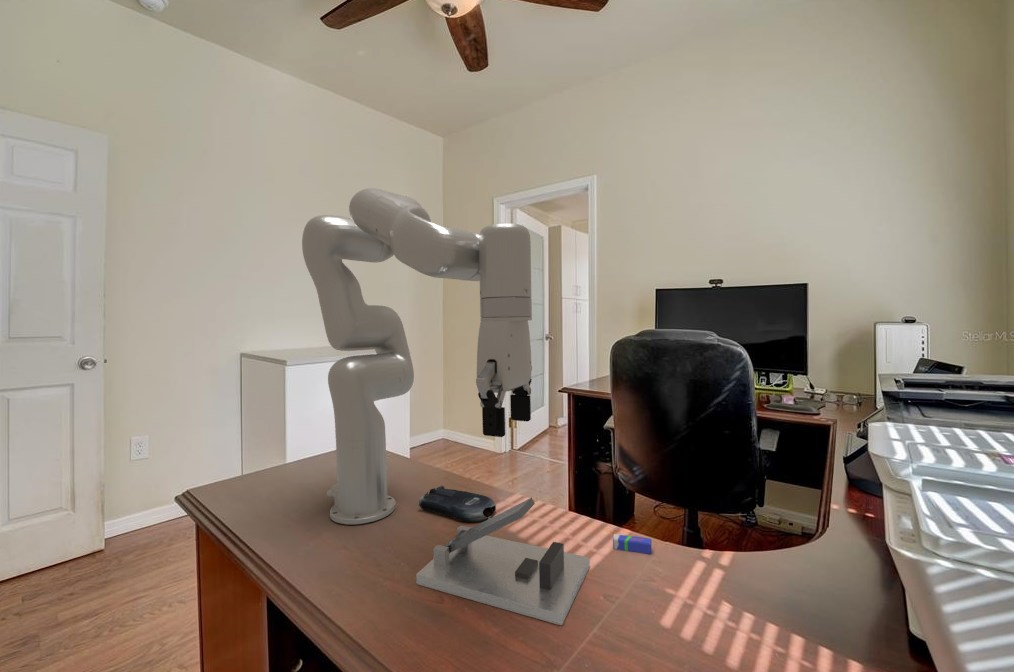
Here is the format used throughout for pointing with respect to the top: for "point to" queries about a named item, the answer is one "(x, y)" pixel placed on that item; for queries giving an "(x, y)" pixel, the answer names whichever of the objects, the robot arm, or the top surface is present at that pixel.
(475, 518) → the electronic device
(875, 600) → the top surface
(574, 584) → the mounting plate
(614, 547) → the eraser
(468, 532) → the retention lever
